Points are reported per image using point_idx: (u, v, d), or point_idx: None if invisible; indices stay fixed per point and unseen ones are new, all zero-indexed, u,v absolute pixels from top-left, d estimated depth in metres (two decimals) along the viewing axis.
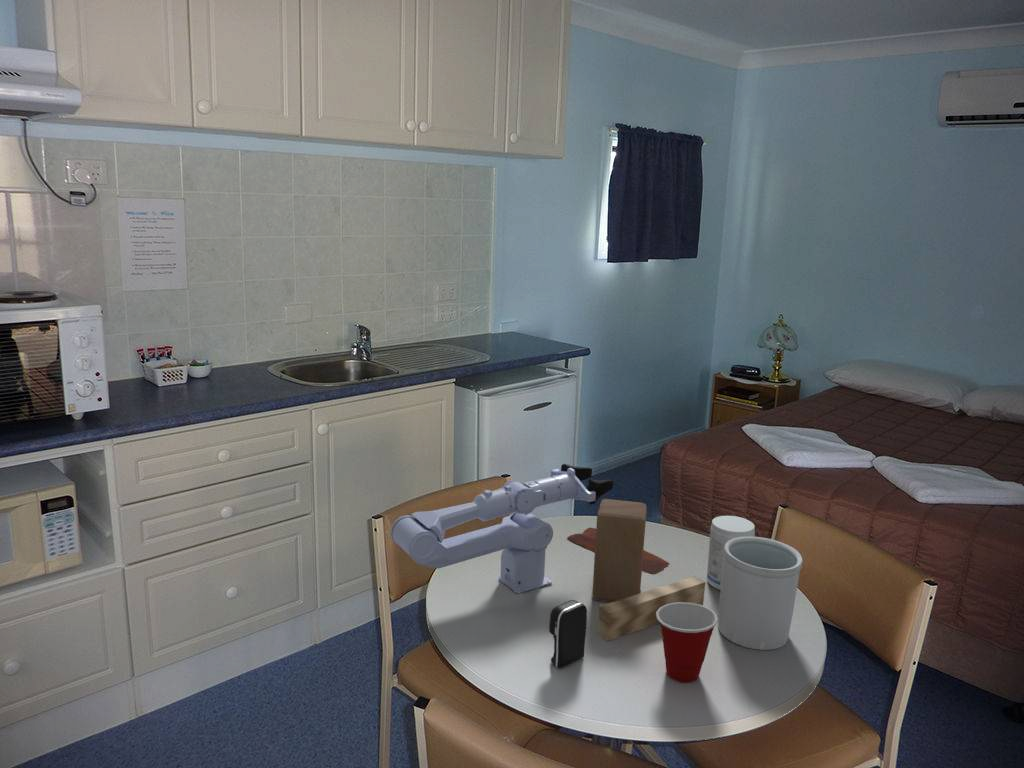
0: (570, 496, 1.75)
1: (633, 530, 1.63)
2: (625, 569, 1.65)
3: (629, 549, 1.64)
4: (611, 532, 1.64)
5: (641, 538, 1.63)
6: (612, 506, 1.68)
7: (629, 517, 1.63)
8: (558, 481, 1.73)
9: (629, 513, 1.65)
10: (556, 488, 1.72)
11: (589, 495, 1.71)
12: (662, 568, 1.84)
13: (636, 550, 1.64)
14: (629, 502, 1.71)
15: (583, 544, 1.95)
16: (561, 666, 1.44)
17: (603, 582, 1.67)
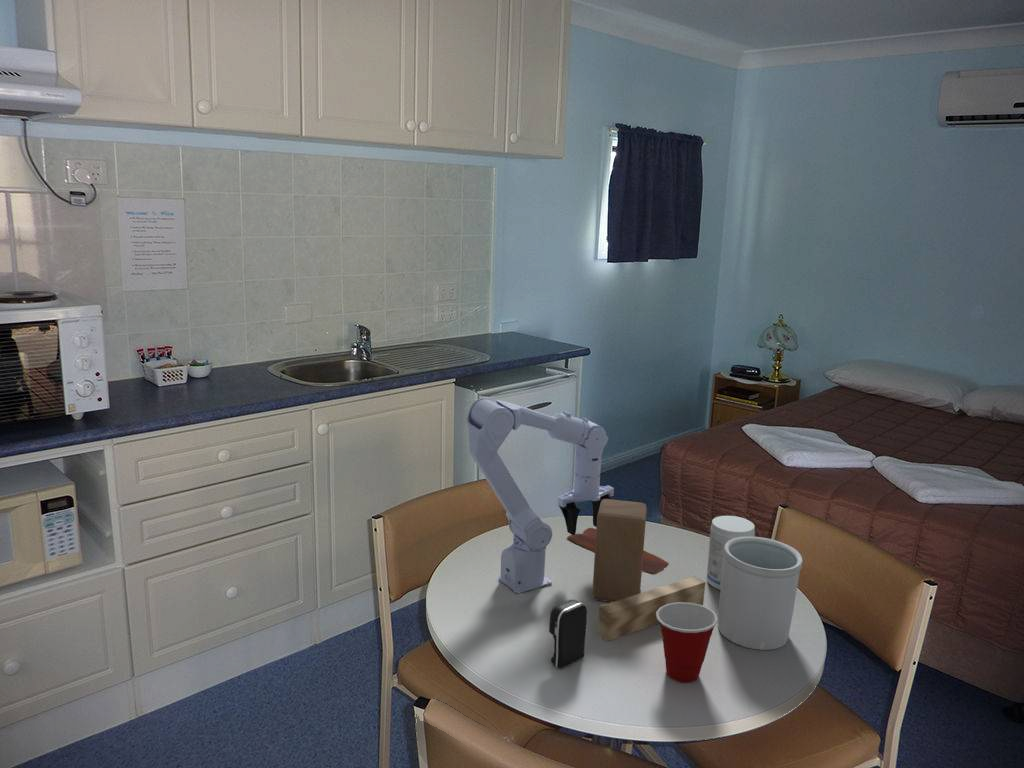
0: (574, 486, 1.78)
1: (633, 530, 1.63)
2: (625, 569, 1.65)
3: (629, 549, 1.64)
4: (611, 532, 1.64)
5: (641, 538, 1.63)
6: (612, 506, 1.68)
7: (630, 517, 1.63)
8: (589, 479, 1.74)
9: (629, 513, 1.65)
10: (598, 472, 1.75)
11: (562, 499, 1.74)
12: (662, 568, 1.85)
13: (636, 550, 1.64)
14: (629, 502, 1.71)
15: (583, 544, 1.95)
16: (561, 666, 1.44)
17: (603, 582, 1.67)
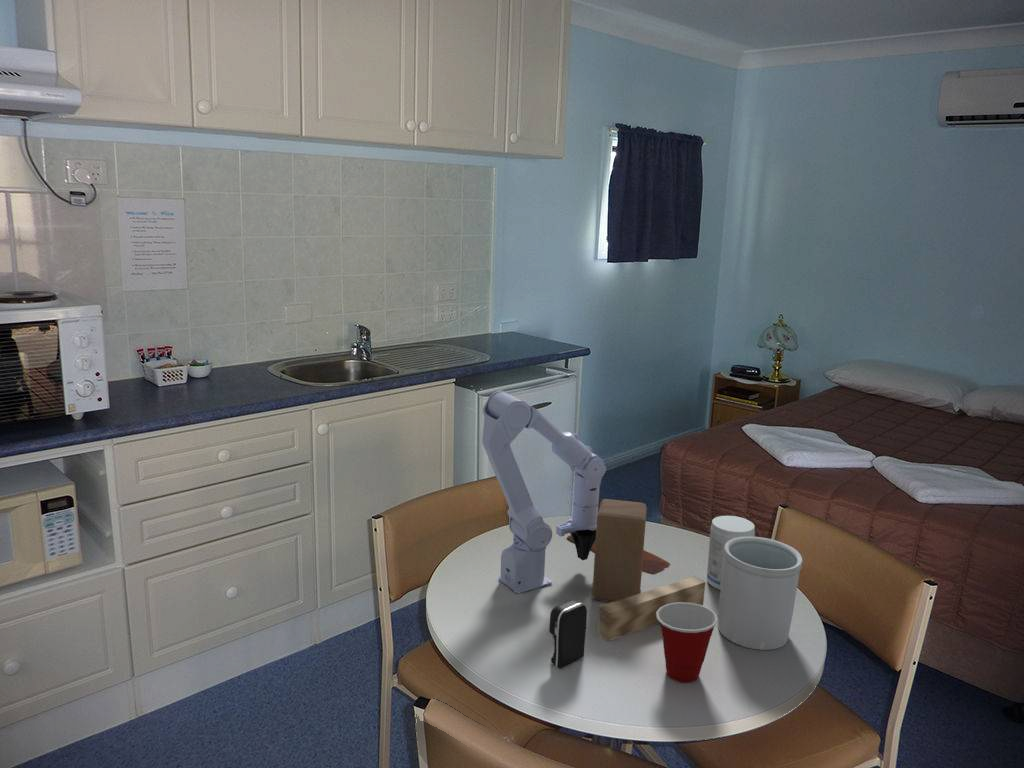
0: (572, 515, 1.79)
1: (633, 530, 1.63)
2: (625, 569, 1.65)
3: (629, 549, 1.64)
4: (611, 532, 1.64)
5: (641, 538, 1.63)
6: (612, 506, 1.68)
7: (630, 517, 1.63)
8: (587, 508, 1.76)
9: (629, 513, 1.65)
10: (596, 502, 1.77)
11: (560, 528, 1.76)
12: (662, 568, 1.85)
13: (636, 550, 1.64)
14: (629, 502, 1.71)
15: None
16: (561, 666, 1.44)
17: (603, 582, 1.67)
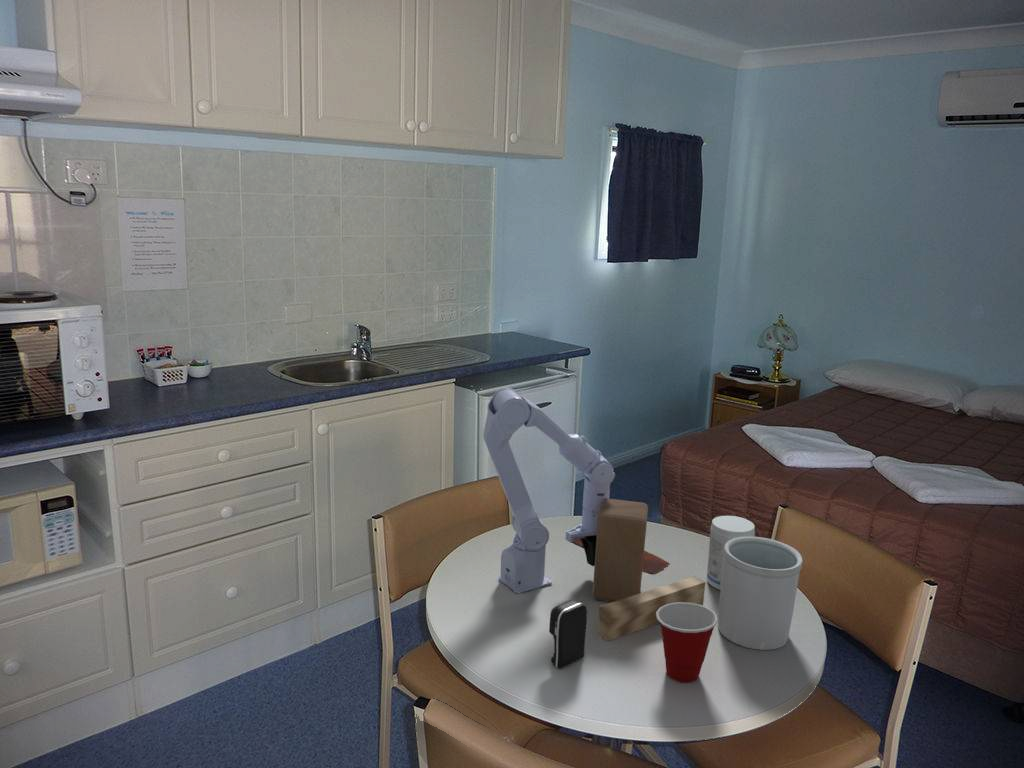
0: (582, 520, 1.76)
1: (634, 531, 1.63)
2: (626, 570, 1.65)
3: (629, 550, 1.64)
4: (612, 533, 1.64)
5: (642, 539, 1.63)
6: (613, 506, 1.68)
7: (631, 518, 1.62)
8: (597, 514, 1.73)
9: (630, 513, 1.64)
10: None
11: (570, 534, 1.73)
12: (661, 568, 1.85)
13: (636, 551, 1.64)
14: (630, 502, 1.70)
15: None
16: (561, 666, 1.44)
17: (603, 582, 1.67)
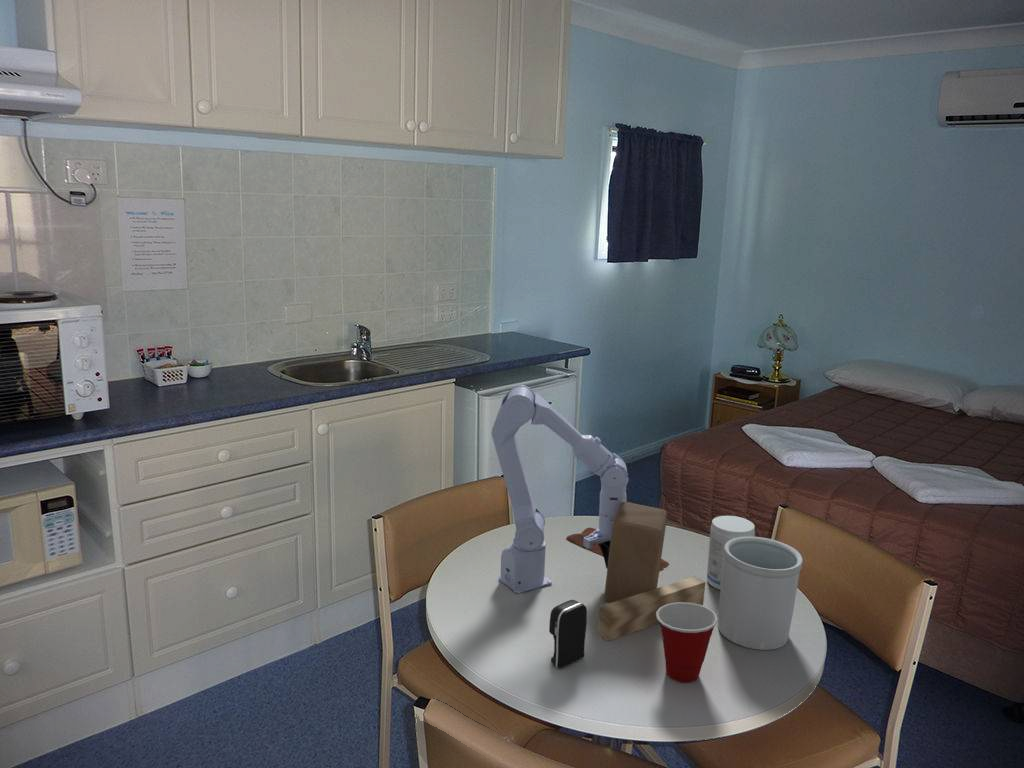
0: (599, 525, 1.72)
1: (648, 540, 1.58)
2: (638, 578, 1.62)
3: (643, 559, 1.60)
4: (625, 541, 1.60)
5: (656, 549, 1.58)
6: (630, 512, 1.63)
7: (645, 528, 1.58)
8: None
9: (646, 522, 1.60)
10: None
11: (588, 540, 1.68)
12: (661, 568, 1.85)
13: (650, 560, 1.59)
14: (649, 508, 1.65)
15: (582, 544, 1.95)
16: (561, 666, 1.44)
17: (615, 588, 1.64)
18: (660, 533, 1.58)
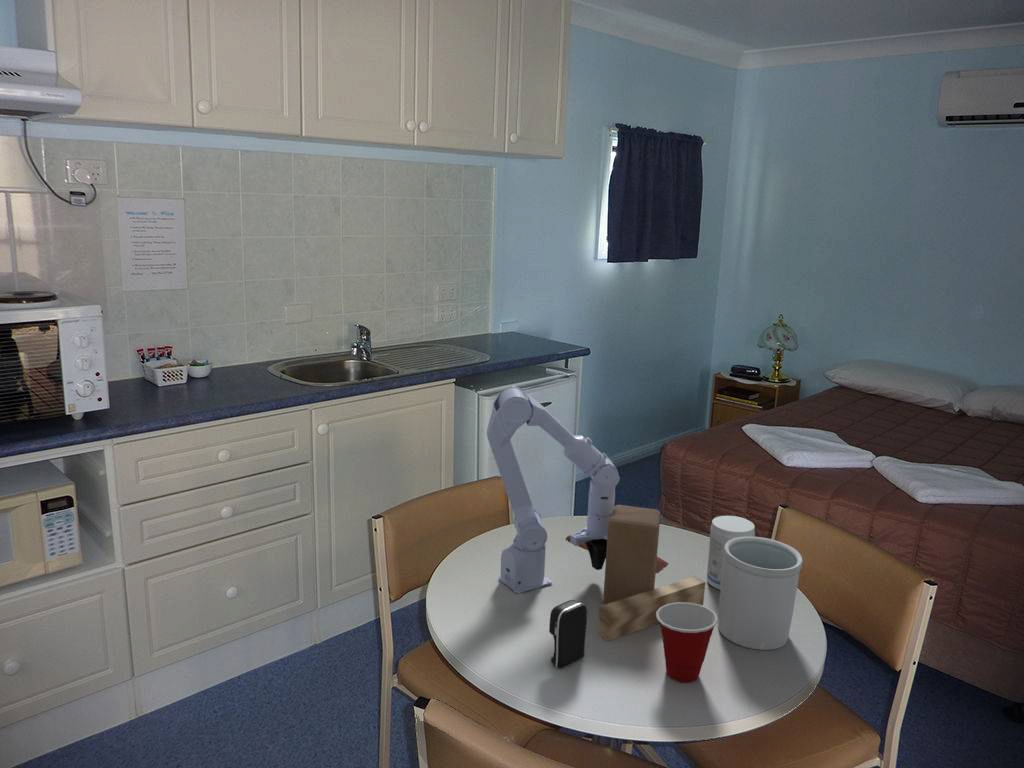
0: (587, 524, 1.75)
1: (644, 537, 1.60)
2: (636, 577, 1.62)
3: (640, 556, 1.61)
4: (622, 539, 1.61)
5: (653, 545, 1.60)
6: (625, 512, 1.65)
7: (641, 524, 1.60)
8: (602, 517, 1.72)
9: (641, 519, 1.62)
10: (609, 512, 1.72)
11: (575, 538, 1.71)
12: (661, 568, 1.85)
13: (647, 558, 1.61)
14: (642, 508, 1.67)
15: (582, 544, 1.95)
16: (561, 666, 1.44)
17: (614, 590, 1.64)
18: (656, 528, 1.60)
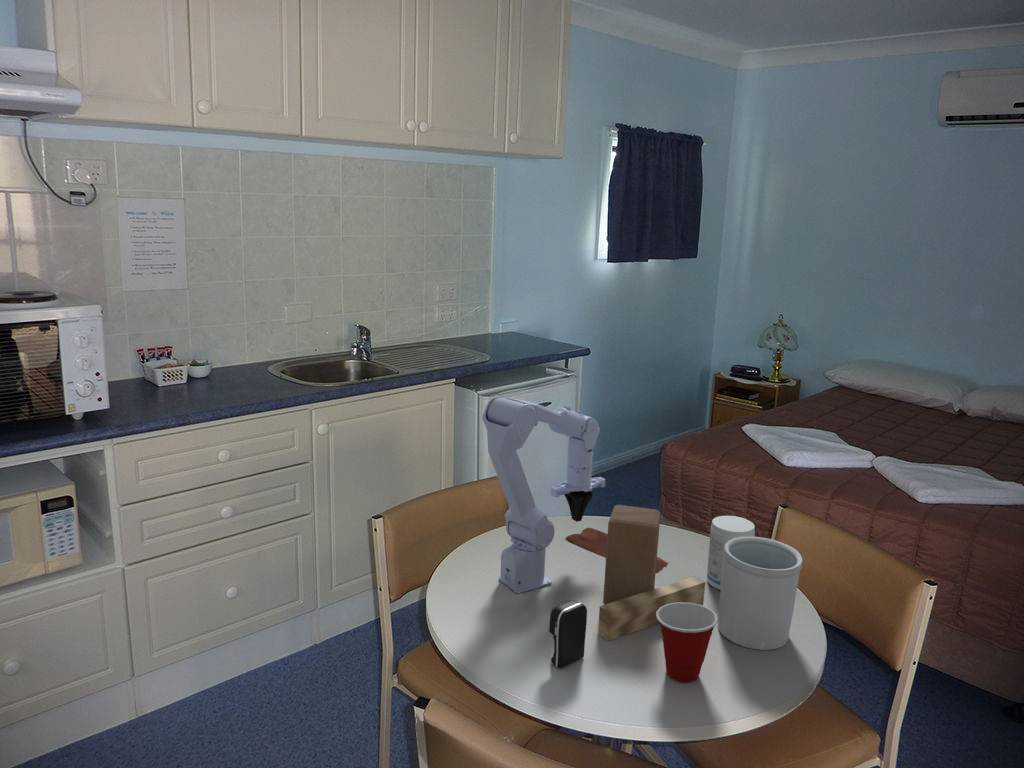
0: None
1: (644, 537, 1.60)
2: (636, 577, 1.62)
3: (640, 557, 1.61)
4: (622, 539, 1.61)
5: (653, 546, 1.60)
6: (625, 512, 1.65)
7: (641, 524, 1.60)
8: (581, 470, 1.80)
9: (641, 519, 1.62)
10: (591, 462, 1.82)
11: (555, 489, 1.79)
12: (661, 568, 1.85)
13: (647, 558, 1.61)
14: (642, 509, 1.67)
15: (581, 544, 1.95)
16: (561, 666, 1.44)
17: (614, 590, 1.64)
18: (656, 528, 1.60)
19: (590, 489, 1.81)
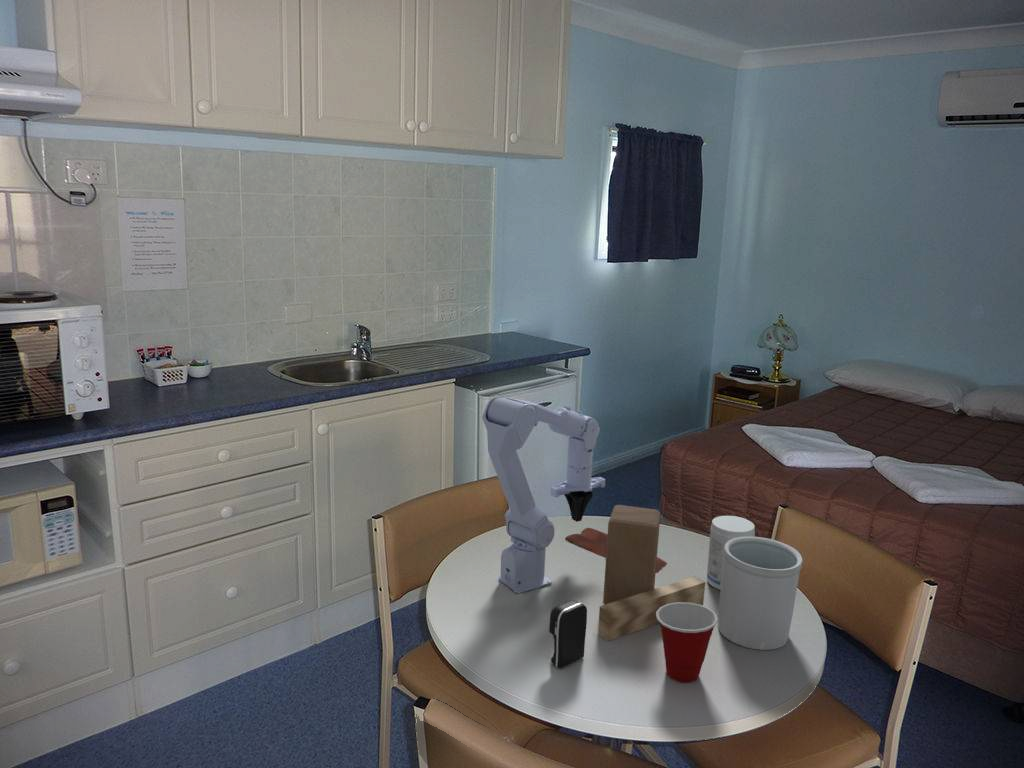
0: None
1: (644, 537, 1.60)
2: (636, 577, 1.62)
3: (640, 557, 1.61)
4: (622, 539, 1.61)
5: (653, 546, 1.60)
6: (625, 512, 1.65)
7: (641, 524, 1.60)
8: (581, 470, 1.80)
9: (641, 519, 1.62)
10: (591, 462, 1.82)
11: (555, 489, 1.79)
12: (661, 568, 1.85)
13: (647, 558, 1.61)
14: (642, 509, 1.67)
15: (581, 544, 1.95)
16: (561, 666, 1.44)
17: (614, 590, 1.64)
18: (656, 528, 1.60)
19: (590, 489, 1.81)
